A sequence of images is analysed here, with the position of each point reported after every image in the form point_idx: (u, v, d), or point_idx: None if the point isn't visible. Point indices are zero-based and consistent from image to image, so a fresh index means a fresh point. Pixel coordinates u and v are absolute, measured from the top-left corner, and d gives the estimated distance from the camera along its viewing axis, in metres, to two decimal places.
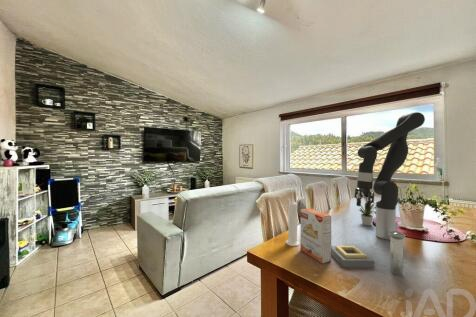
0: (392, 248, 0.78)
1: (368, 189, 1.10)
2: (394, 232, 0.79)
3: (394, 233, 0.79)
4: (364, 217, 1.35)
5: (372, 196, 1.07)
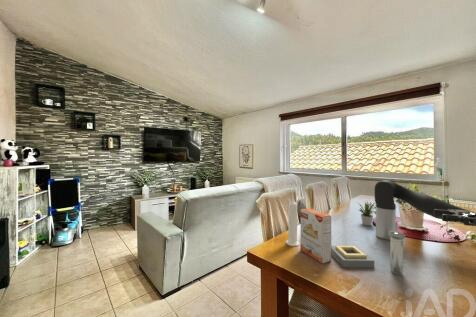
0: (392, 248, 0.78)
1: None
2: (394, 232, 0.79)
3: (394, 233, 0.79)
4: (364, 217, 1.35)
5: None
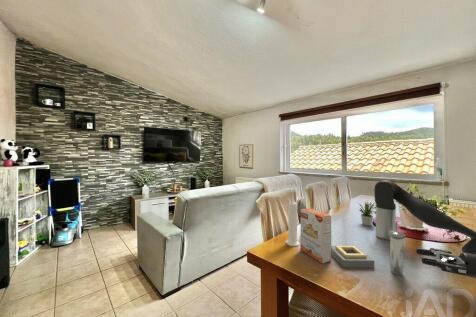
0: (392, 248, 0.78)
1: (467, 268, 0.65)
2: (394, 232, 0.79)
3: (394, 233, 0.79)
4: (364, 217, 1.35)
5: (456, 271, 0.64)
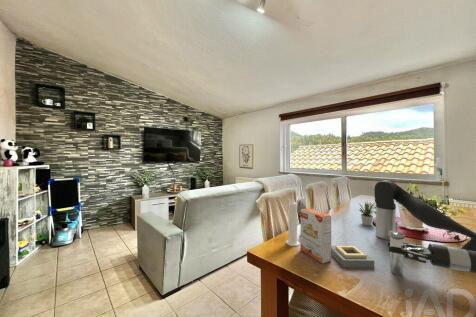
0: None
1: (432, 257, 0.70)
2: (394, 233, 0.79)
3: (394, 233, 0.78)
4: (364, 217, 1.35)
5: (416, 258, 0.70)
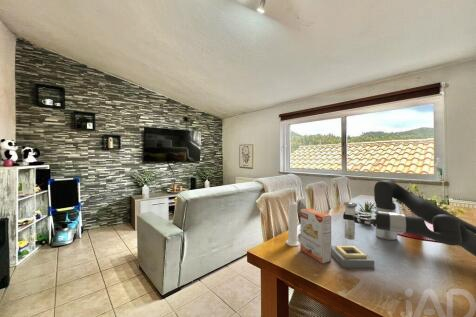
0: None
1: (376, 222, 0.80)
2: (348, 203, 0.89)
3: (348, 203, 0.89)
4: None
5: (363, 222, 0.81)
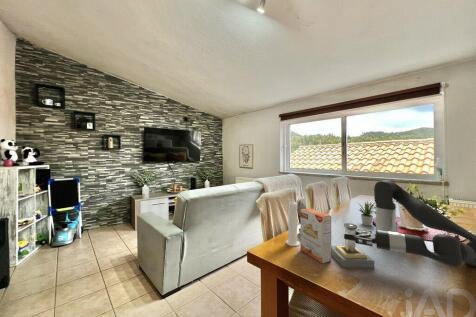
0: None
1: (376, 241, 0.80)
2: (348, 224, 0.89)
3: (348, 224, 0.88)
4: (364, 217, 1.35)
5: (365, 243, 0.80)
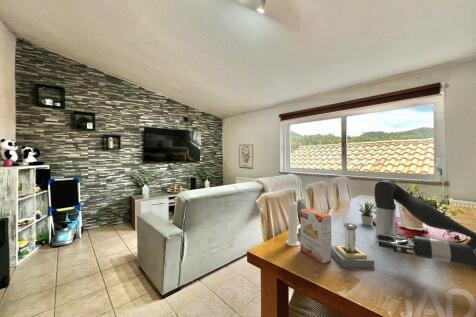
0: (346, 238, 0.88)
1: (415, 249, 0.73)
2: (348, 224, 0.89)
3: (348, 224, 0.88)
4: (364, 217, 1.35)
5: (405, 251, 0.73)
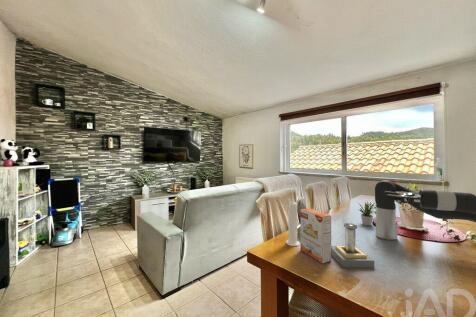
0: (346, 238, 0.88)
1: (422, 199, 0.76)
2: (348, 224, 0.89)
3: (348, 224, 0.88)
4: (364, 217, 1.35)
5: (412, 201, 0.75)
